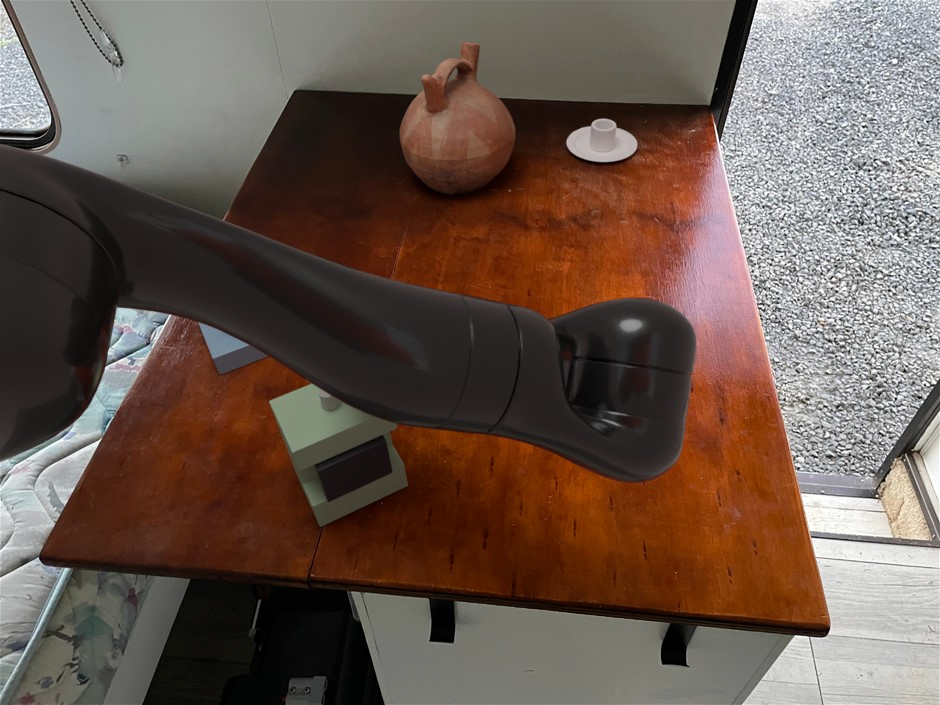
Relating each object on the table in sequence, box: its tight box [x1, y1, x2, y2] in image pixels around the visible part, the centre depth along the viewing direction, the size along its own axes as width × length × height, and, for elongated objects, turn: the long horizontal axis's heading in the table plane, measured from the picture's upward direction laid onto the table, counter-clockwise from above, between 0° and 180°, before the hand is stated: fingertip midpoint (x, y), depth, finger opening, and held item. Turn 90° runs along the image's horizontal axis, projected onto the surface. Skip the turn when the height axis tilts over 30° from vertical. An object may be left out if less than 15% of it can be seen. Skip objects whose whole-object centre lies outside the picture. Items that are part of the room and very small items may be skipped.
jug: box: [399, 41, 516, 195], centre depth 110 cm, size 18×18×20 cm
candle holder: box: [566, 118, 638, 163], centre depth 120 cm, size 12×12×4 cm
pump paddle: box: [314, 435, 393, 502], centre depth 69 cm, size 7×1×5 cm, turn 119°
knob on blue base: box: [197, 322, 269, 376], centre depth 91 cm, size 11×10×5 cm
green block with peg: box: [268, 383, 409, 528], centre depth 71 cm, size 10×7×15 cm
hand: (328, 347), depth 66 cm, fingers closed
